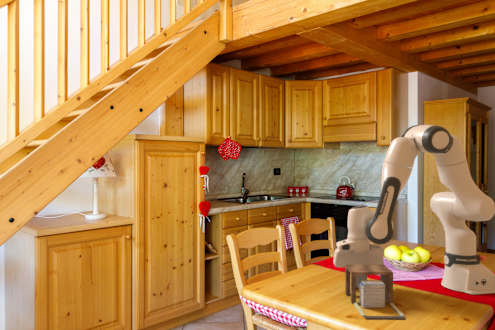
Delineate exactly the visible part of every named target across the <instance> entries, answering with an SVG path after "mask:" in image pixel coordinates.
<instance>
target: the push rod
mask: <svg viewBox="0 0 495 330" xmlns="http://www.w3.org/2000/svg"><path fill="white" fill-rule="evenodd" d="M361 280H368V275H356V289H358V290H359V291H360V281H361Z"/></svg>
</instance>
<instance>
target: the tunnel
mask: <svg viewBox="0 0 495 330" xmlns="http://www.w3.org/2000/svg"><path fill="white" fill-rule="evenodd" d="M344 268H345V270H344V271H345V273H344V274H345V275H344V276H345V277H344V282H345V284H344V285H345V286H344V287H345V289H344V290H345V293H344V294H345V296H350V303H351V304H354V303H357V287H356V275H367V276H373V275H374V276H379V280H381V281H382V282H383V283H384V284H385V302H387V303H388V304H389V305H390V303H393V304H394V271H392V270H391V269H390V268H389V267H387V266H386V265H385V264H384V265H345V267H344Z"/></svg>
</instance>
